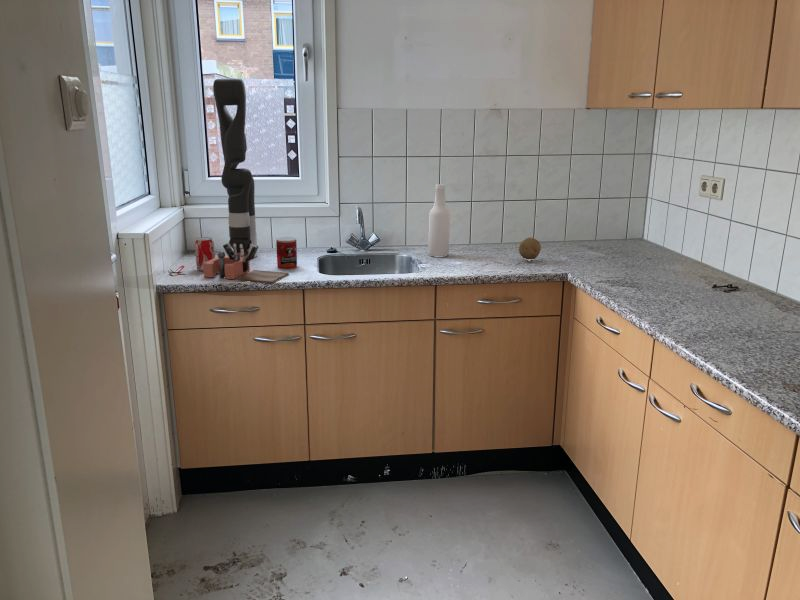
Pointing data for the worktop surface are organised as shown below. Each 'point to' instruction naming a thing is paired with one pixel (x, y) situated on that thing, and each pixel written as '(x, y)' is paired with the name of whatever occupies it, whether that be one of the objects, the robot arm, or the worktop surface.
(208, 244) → the soda can
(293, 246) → the canned food
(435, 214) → the alcohol
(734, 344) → the worktop surface
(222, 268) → the metal pin
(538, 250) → the brown fuzzy ball
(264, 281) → the walnut board
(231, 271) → the c link
